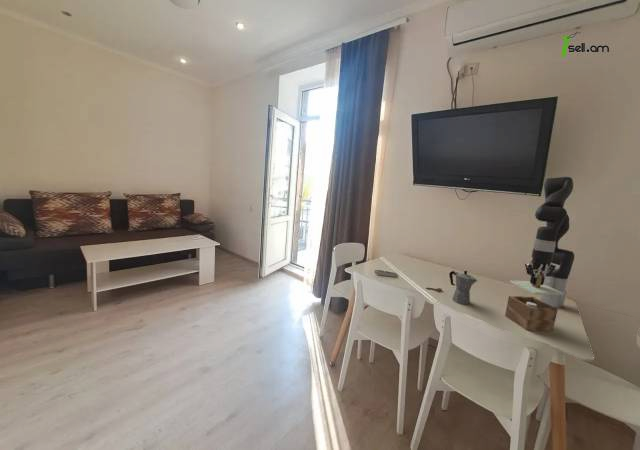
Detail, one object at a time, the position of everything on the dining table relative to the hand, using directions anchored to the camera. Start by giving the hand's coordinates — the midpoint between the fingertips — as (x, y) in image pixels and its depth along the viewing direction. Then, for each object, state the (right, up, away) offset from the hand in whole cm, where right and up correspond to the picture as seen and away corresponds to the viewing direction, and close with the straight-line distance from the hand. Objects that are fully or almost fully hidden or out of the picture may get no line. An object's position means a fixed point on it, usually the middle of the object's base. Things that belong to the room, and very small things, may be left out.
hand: (536, 284), depth 122 cm
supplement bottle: (-2, -20, +3) cm, 20 cm away
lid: (0, -2, 0) cm, 2 cm away
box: (-2, -20, +3) cm, 20 cm away
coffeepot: (-24, -15, +25) cm, 37 cm away
